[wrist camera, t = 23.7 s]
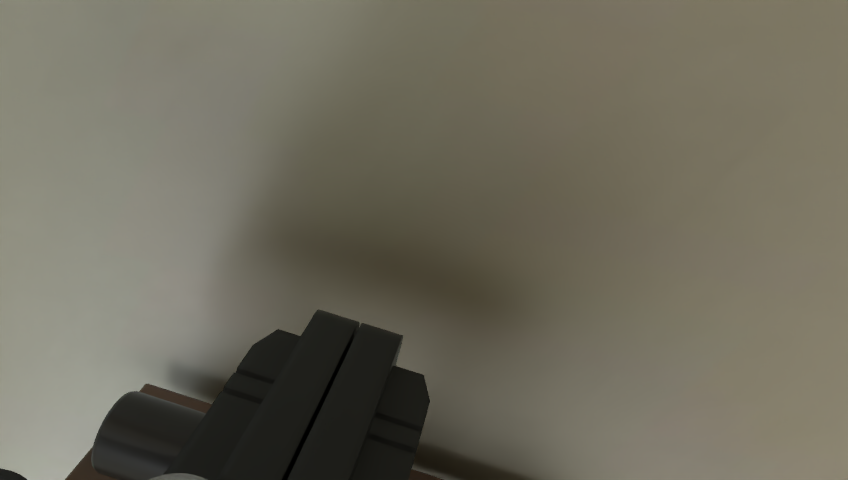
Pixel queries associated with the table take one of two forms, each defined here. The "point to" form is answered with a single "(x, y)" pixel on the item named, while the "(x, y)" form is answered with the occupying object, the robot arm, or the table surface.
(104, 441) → the drawer
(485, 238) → the table surface
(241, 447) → the robot arm
